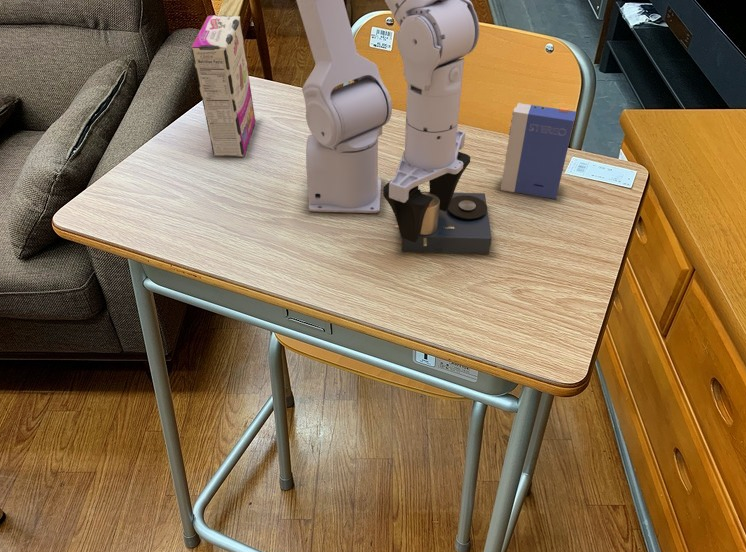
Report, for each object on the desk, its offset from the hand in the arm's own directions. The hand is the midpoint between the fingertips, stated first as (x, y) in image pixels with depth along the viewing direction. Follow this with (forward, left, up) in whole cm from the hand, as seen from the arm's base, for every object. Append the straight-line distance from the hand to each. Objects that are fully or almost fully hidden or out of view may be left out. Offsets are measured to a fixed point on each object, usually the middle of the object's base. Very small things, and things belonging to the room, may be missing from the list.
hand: (424, 222), depth 82 cm
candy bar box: (-29, +25, -3) cm, 38 cm away
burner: (+6, +4, -1) cm, 7 cm away
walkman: (+15, +13, -3) cm, 20 cm away
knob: (0, 0, -1) cm, 1 cm away
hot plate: (+2, +2, -3) cm, 5 cm away
